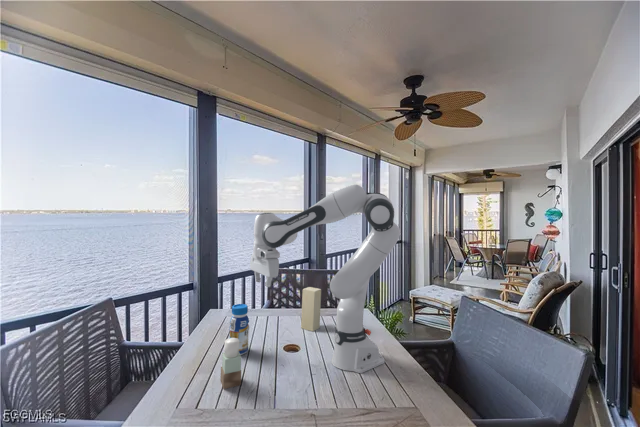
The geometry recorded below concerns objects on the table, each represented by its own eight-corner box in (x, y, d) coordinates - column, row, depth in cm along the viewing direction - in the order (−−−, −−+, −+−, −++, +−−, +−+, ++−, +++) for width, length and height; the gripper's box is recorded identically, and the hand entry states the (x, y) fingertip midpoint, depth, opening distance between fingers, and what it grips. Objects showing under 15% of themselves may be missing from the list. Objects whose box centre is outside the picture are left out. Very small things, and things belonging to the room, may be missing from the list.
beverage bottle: (229, 348, 135) (230, 303, 135) (248, 346, 137) (249, 302, 137) (228, 356, 127) (229, 309, 127) (248, 355, 129) (250, 308, 129)
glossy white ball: (238, 350, 111) (238, 337, 111) (239, 357, 106) (239, 342, 106) (224, 352, 110) (224, 338, 110) (224, 358, 105) (224, 344, 105)
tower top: (237, 363, 112) (237, 350, 112) (240, 370, 107) (241, 356, 107) (222, 366, 109) (222, 352, 109) (224, 374, 104) (225, 359, 104)
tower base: (237, 376, 112) (237, 363, 112) (240, 385, 107) (241, 371, 107) (220, 380, 109) (220, 366, 109) (223, 389, 104) (223, 374, 104)
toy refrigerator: (320, 327, 162) (322, 288, 162) (313, 331, 156) (314, 291, 156) (308, 324, 167) (309, 286, 167) (300, 328, 160) (302, 289, 160)
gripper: (247, 248, 133) (246, 280, 133) (267, 254, 116) (266, 290, 116) (260, 248, 136) (259, 278, 136) (282, 254, 120) (281, 288, 120)
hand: (262, 284), depth 126 cm, fingers open, 8 cm apart
